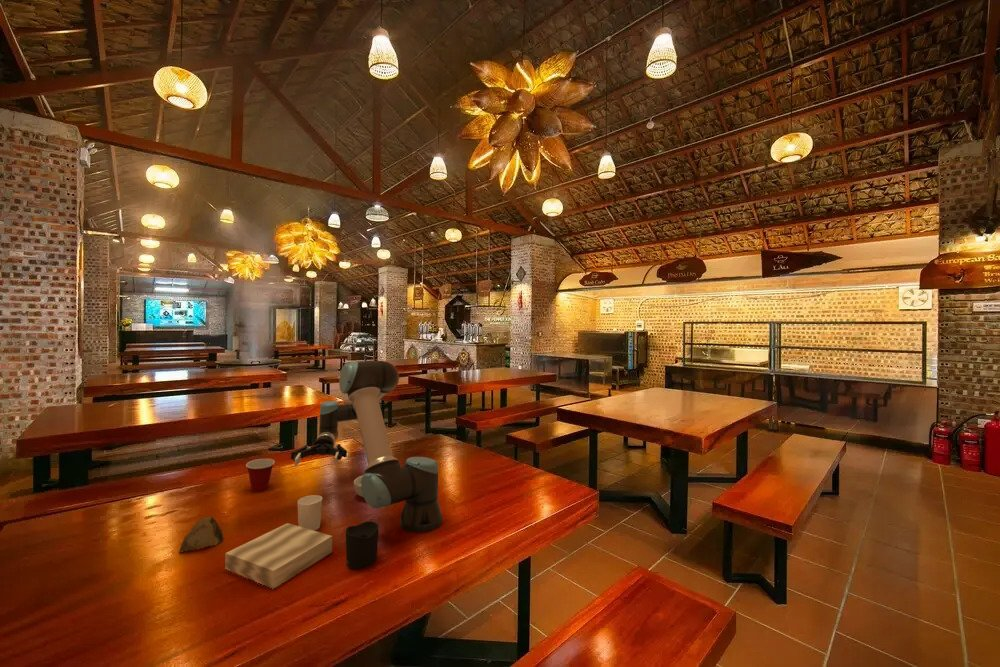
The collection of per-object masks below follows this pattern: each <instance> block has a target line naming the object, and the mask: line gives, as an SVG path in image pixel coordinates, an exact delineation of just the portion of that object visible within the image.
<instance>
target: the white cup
mask: <svg viewBox="0 0 1000 667" xmlns="http://www.w3.org/2000/svg"><path fill="white" fill-rule="evenodd" d="M322 512H323V496H321V495H319V494H317V495H316V494H312V495H306V496H304V497H301V498H299V499H298V500H297V521H298V526H299V527H303V528H306V529H310V530H313V531H317V530H319V529H320V527H321V520H322Z"/></svg>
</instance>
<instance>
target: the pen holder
mask: <svg viewBox="0 0 1000 667" xmlns="http://www.w3.org/2000/svg"><path fill="white" fill-rule="evenodd" d="M379 528H380V527H379V524H378V523H377V522H376V521H371V520H367V521H363V522H362V523H360V524H357V525H350V526H348V527H346V529H345V555H346V560H345V561H346V565H347V567H348V568H349V569H351V570H363V569H367V568H369V567H371V566H373V565H374V564H375V563H376V561H377V559H378V551H379V550H378V547H379Z"/></svg>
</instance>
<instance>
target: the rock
mask: <svg viewBox="0 0 1000 667" xmlns="http://www.w3.org/2000/svg"><path fill="white" fill-rule="evenodd" d="M222 530H223V529H221V528H220V525H219V524H218V521H216V519H215V518H214V516H205V517H203V518H200V520H197V521H196V522H195V523H194V525H193V526H192V528H191V529H190V531H189V532H187V533H186V535H185V536H184V538H183V540H182V543H180V549H179V551H180V552H179V553H183V552H182V551H185V552H189V551H188V550H192V551H194V550H193V549H196V550H198V549H197V548H202V547H206V546H210V547H214V546H213V545H215V546H218V545H219V544H221V543H222V542H223V541H224V539H225V537H224V534H223V531H222ZM221 541H222V542H221ZM220 542H221V543H220ZM218 543H219V544H218ZM217 544H218V545H217Z"/></svg>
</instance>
